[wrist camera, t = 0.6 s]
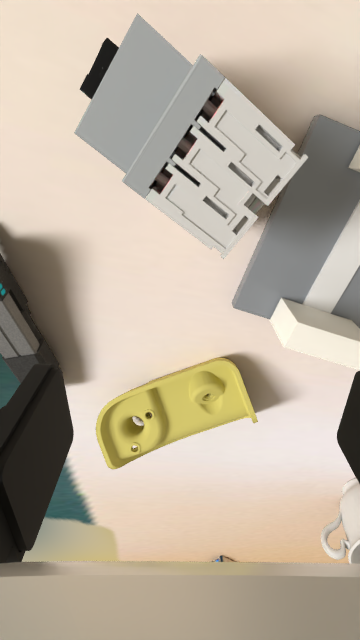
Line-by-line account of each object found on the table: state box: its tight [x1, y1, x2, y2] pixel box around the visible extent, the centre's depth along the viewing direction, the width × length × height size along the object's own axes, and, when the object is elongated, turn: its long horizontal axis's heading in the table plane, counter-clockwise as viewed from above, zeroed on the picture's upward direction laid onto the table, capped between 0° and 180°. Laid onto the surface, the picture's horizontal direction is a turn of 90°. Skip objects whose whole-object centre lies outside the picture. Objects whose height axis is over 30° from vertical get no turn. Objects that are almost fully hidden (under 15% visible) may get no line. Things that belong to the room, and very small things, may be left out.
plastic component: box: [96, 358, 258, 469], centre depth 45 cm, size 20×7×10 cm
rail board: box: [232, 115, 360, 370], centre depth 33 cm, size 20×18×8 cm
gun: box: [0, 254, 63, 383], centre depth 39 cm, size 4×20×10 cm, turn 11°
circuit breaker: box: [74, 13, 308, 259], centre depth 25 cm, size 8×14×15 cm, turn 53°
